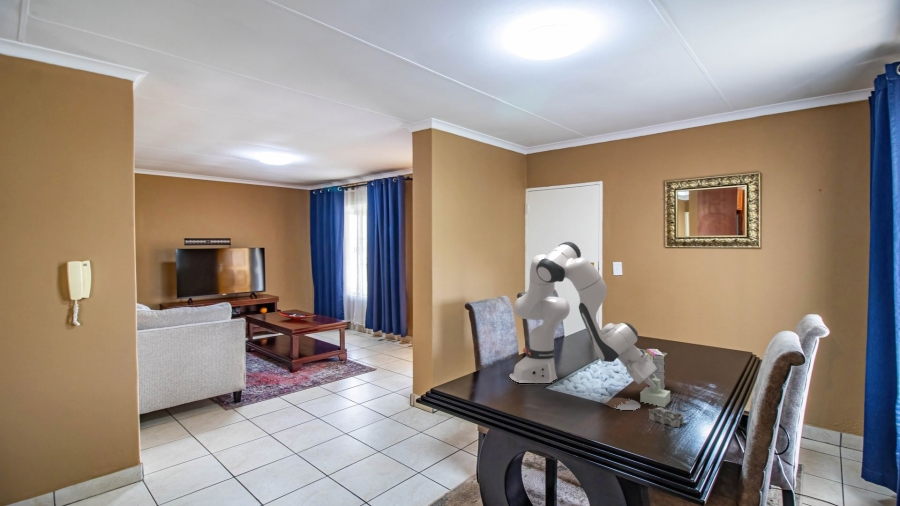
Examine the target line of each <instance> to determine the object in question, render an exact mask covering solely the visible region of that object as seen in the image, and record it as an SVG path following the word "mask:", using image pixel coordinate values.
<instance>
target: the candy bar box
mask: <svg viewBox="0 0 900 506" xmlns="http://www.w3.org/2000/svg"><path fill="white" fill-rule="evenodd" d="M646 355H647V356H648V357H649V358H650V360H651V361H652V362H653V363H654V364H655V366H656V368H657V370H656V371H654V372H653V373H654V374H655V376H656V378H657V379H660V389H662V390H666V380H665V379H666V378H665V377H666V365H665V361H666V360H665V354H664V353H663V352H661V350H659V349H657V348H646ZM650 380H651V379H650ZM648 387H650V385H649V386H648Z"/></svg>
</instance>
